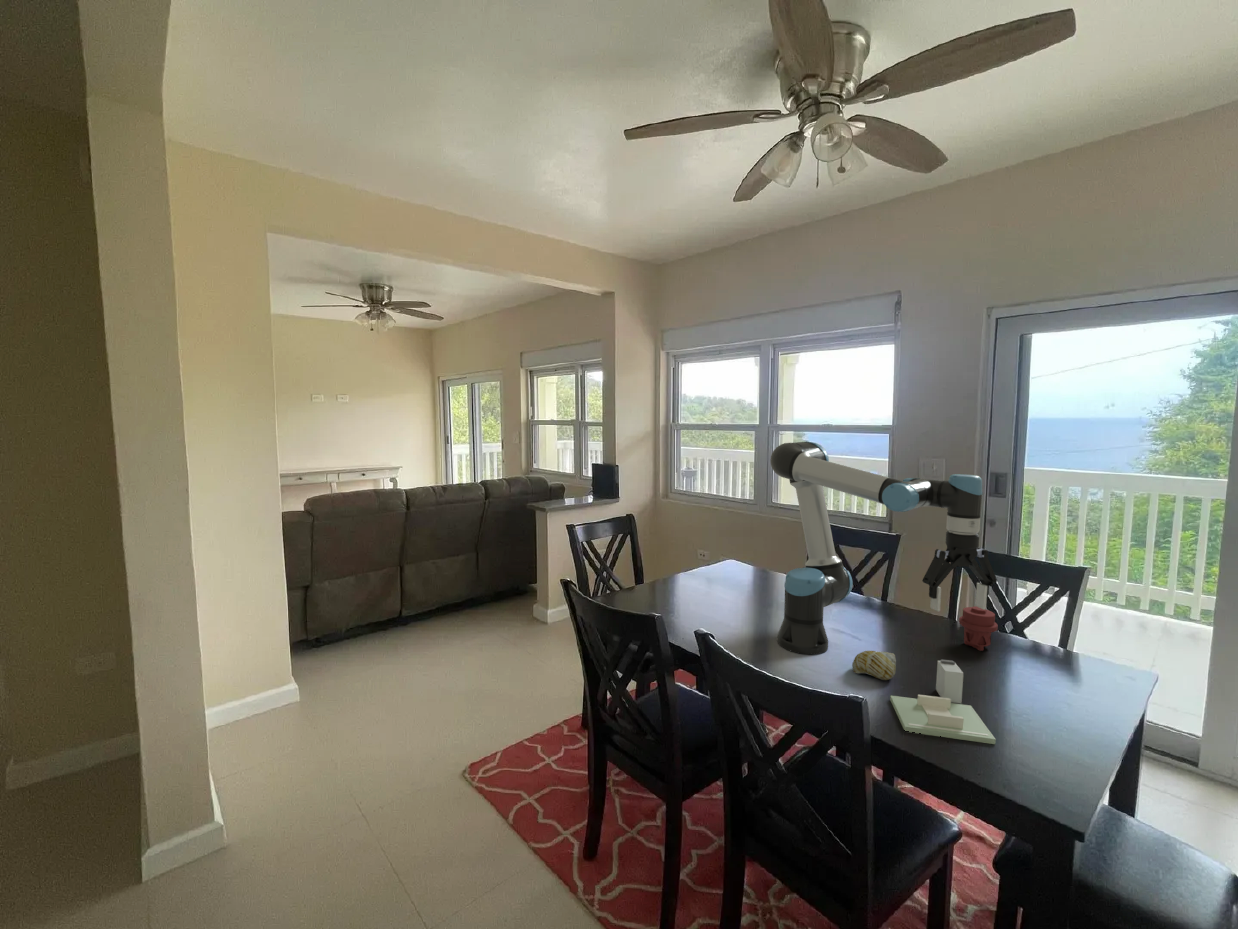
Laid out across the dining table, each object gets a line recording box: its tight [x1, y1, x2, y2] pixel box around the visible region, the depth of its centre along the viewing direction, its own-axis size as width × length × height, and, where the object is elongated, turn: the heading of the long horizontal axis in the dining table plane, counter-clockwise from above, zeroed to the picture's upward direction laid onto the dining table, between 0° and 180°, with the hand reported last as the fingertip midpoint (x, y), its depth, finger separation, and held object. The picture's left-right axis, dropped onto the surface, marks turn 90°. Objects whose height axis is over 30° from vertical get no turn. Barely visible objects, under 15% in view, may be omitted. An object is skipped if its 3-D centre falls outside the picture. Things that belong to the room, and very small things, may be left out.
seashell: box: [851, 650, 897, 681], centre depth 146 cm, size 10×10×10 cm
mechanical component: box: [958, 605, 998, 652], centre depth 165 cm, size 12×10×10 cm
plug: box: [935, 659, 964, 704], centre depth 135 cm, size 4×6×9 cm, turn 165°
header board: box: [889, 694, 997, 745], centre depth 124 cm, size 18×14×4 cm
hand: (958, 608), depth 143 cm, fingers open, 13 cm apart
